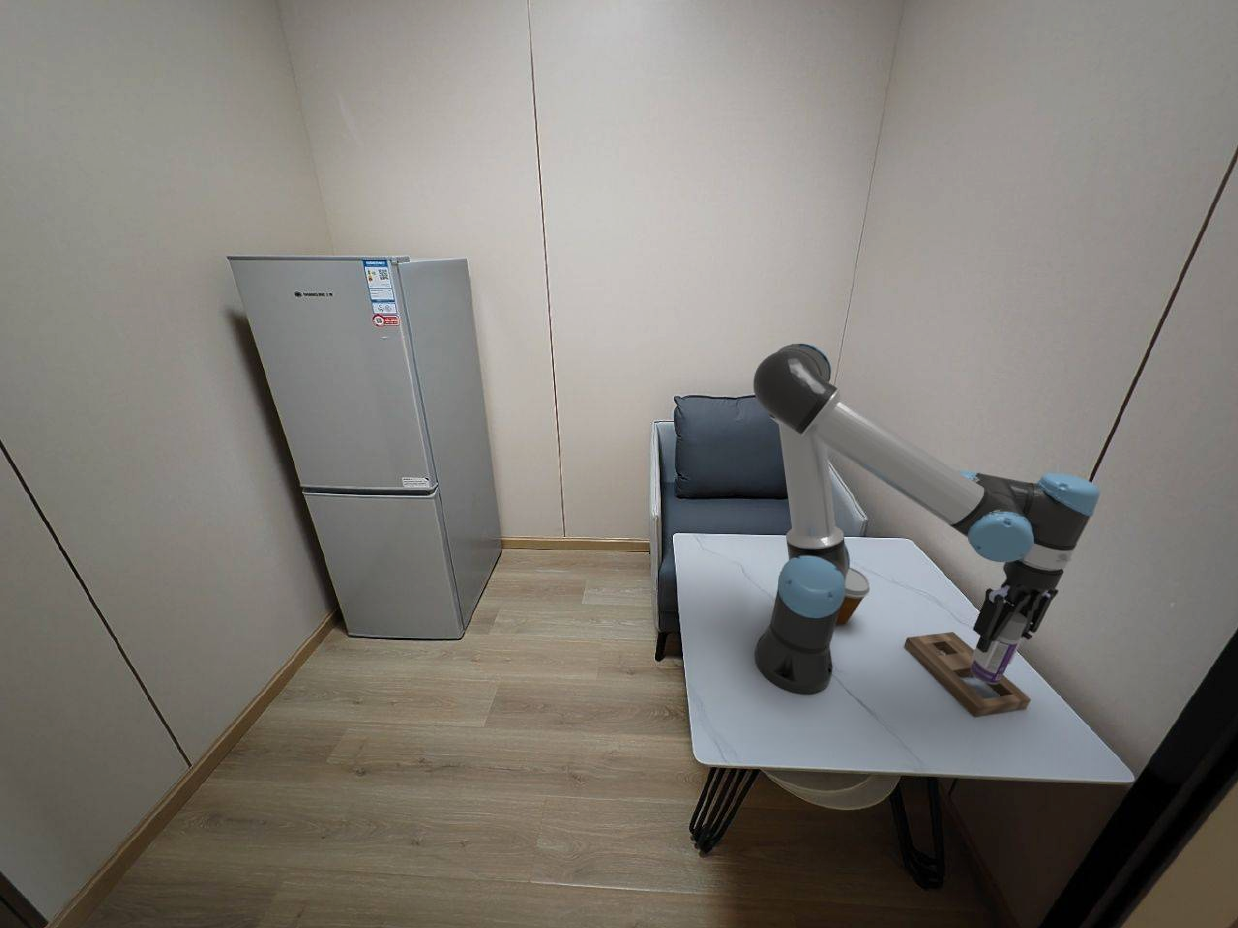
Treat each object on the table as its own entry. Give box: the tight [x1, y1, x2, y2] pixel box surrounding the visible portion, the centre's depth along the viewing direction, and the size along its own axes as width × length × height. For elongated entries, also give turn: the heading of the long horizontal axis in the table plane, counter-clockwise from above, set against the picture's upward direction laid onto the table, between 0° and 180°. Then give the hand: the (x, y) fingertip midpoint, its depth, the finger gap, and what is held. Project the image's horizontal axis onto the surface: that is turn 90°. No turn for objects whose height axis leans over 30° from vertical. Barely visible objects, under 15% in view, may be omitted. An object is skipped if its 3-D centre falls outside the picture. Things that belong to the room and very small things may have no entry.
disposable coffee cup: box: [835, 567, 871, 626], centre depth 110 cm, size 10×10×12 cm
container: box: [971, 612, 1027, 685], centre depth 89 cm, size 5×5×15 cm
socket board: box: [903, 631, 1032, 718], centre depth 97 cm, size 12×18×2 cm, turn 11°
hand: (990, 660), depth 91 cm, fingers closed on container, 5 cm apart
